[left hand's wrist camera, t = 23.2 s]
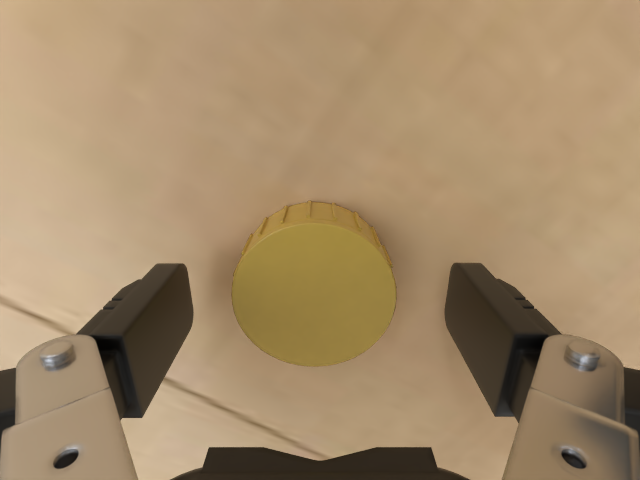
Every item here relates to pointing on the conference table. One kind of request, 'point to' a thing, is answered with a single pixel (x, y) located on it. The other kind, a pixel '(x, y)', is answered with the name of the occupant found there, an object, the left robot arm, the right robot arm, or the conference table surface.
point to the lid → (314, 285)
